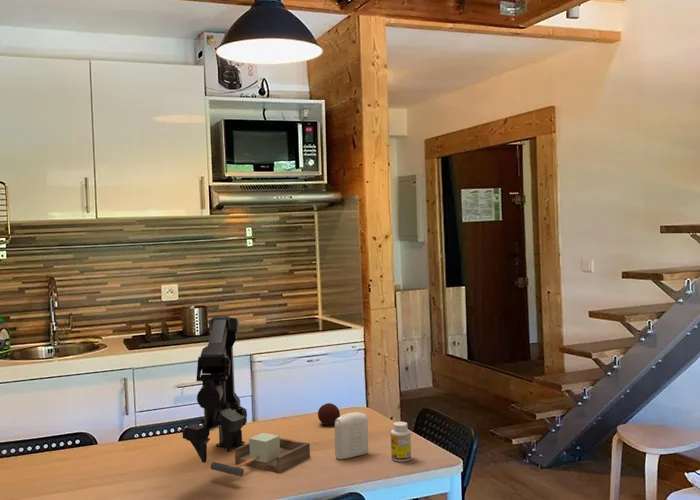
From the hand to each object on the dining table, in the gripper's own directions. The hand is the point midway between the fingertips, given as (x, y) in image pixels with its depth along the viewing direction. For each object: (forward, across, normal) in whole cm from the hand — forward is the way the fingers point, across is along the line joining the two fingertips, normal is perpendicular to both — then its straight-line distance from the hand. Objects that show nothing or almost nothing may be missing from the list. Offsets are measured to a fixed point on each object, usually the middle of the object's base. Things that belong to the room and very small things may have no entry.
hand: (216, 457), depth 180 cm
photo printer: (+6, +33, -21) cm, 40 cm away
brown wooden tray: (+6, +19, -3) cm, 20 cm away
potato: (+6, +55, +2) cm, 56 cm away
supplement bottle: (+6, +37, -35) cm, 52 cm away
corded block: (+5, +9, -3) cm, 11 cm away
